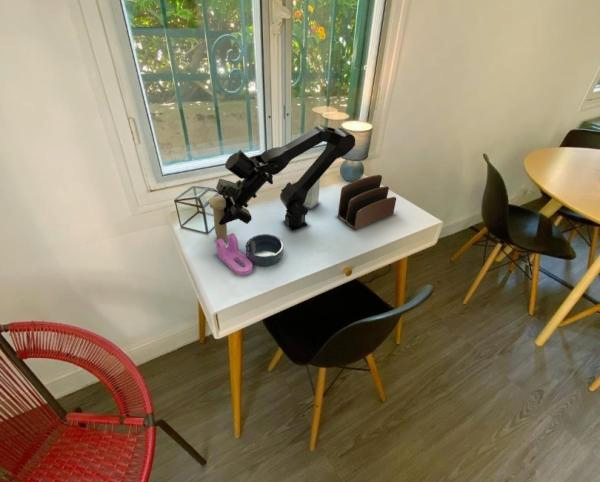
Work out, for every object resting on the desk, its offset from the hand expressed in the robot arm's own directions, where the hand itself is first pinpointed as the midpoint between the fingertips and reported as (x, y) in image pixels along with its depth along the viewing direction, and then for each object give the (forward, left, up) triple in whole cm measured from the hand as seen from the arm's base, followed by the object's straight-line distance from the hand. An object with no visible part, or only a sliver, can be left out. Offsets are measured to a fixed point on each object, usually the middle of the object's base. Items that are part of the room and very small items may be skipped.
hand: (218, 221), depth 107 cm
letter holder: (-52, +14, -8) cm, 55 cm away
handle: (0, 0, -8) cm, 8 cm away
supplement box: (-38, -4, -8) cm, 39 cm away
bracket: (0, +13, -8) cm, 15 cm away
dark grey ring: (-9, +14, -8) cm, 19 cm away
